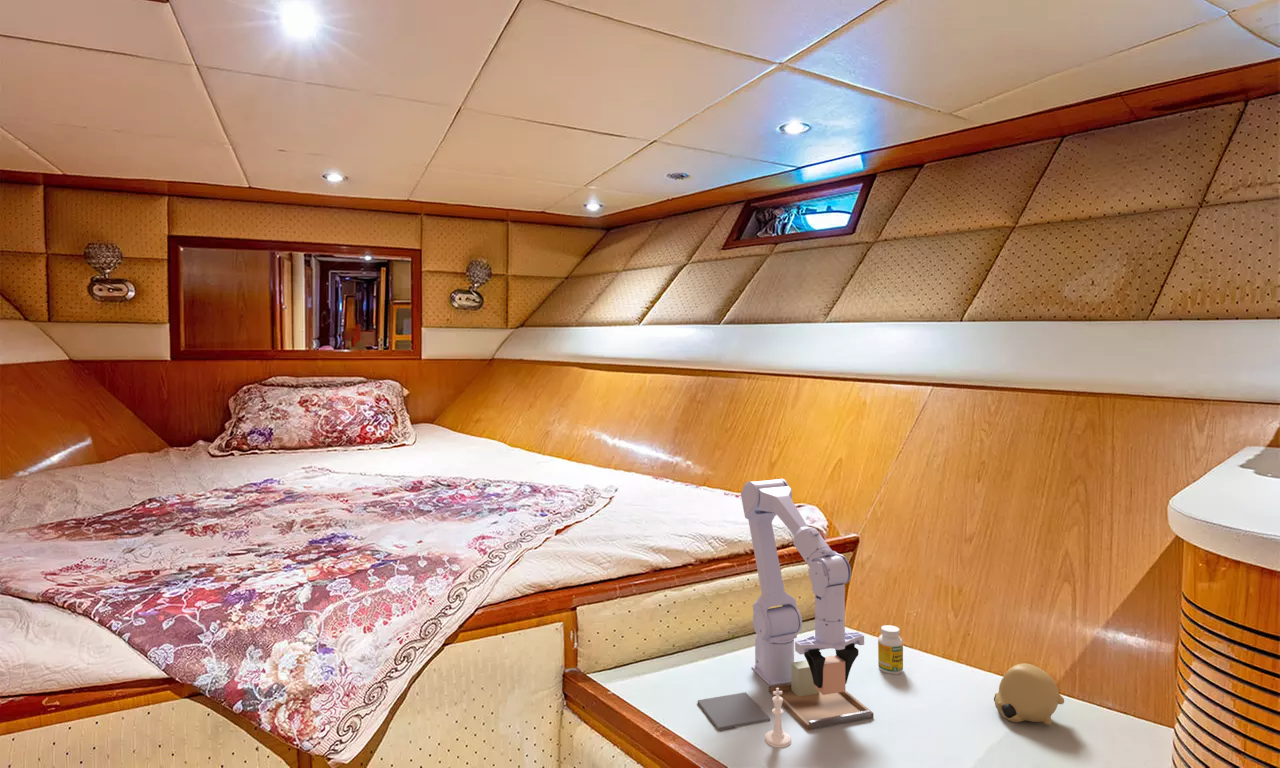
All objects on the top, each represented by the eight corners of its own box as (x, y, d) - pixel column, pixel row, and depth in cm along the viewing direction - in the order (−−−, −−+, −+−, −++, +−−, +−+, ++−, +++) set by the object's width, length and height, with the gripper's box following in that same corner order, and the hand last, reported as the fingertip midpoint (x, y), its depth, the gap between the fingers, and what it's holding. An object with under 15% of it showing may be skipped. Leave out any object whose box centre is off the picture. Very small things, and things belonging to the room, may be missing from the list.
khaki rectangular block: (791, 690, 144) (791, 662, 144) (811, 686, 146) (811, 659, 146) (798, 696, 142) (798, 668, 141) (819, 693, 143) (819, 665, 143)
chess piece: (761, 734, 128) (761, 682, 128) (786, 732, 128) (786, 681, 128) (768, 749, 123) (768, 695, 123) (795, 747, 123) (794, 694, 123)
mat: (697, 703, 140) (697, 700, 140) (745, 694, 143) (745, 692, 143) (718, 730, 129) (718, 727, 129) (769, 721, 133) (769, 718, 132)
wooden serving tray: (769, 692, 144) (768, 685, 144) (828, 682, 148) (828, 675, 148) (807, 731, 129) (807, 723, 129) (873, 718, 133) (873, 710, 133)
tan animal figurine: (1018, 723, 137) (975, 684, 139) (1062, 684, 135) (1018, 645, 137) (1033, 749, 127) (987, 706, 130) (1080, 707, 125) (1033, 664, 127)
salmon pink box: (815, 687, 135) (814, 658, 135) (836, 684, 136) (836, 655, 136) (823, 695, 132) (823, 665, 132) (845, 691, 134) (845, 661, 133)
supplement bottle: (887, 662, 158) (887, 621, 157) (908, 670, 153) (908, 629, 153) (873, 668, 155) (873, 627, 154) (893, 677, 150) (893, 634, 150)
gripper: (807, 628, 128) (808, 698, 128) (873, 619, 132) (873, 687, 132) (789, 615, 135) (790, 681, 135) (852, 606, 139) (852, 671, 139)
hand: (830, 683), depth 134 cm, fingers closed on salmon pink box, 5 cm apart
